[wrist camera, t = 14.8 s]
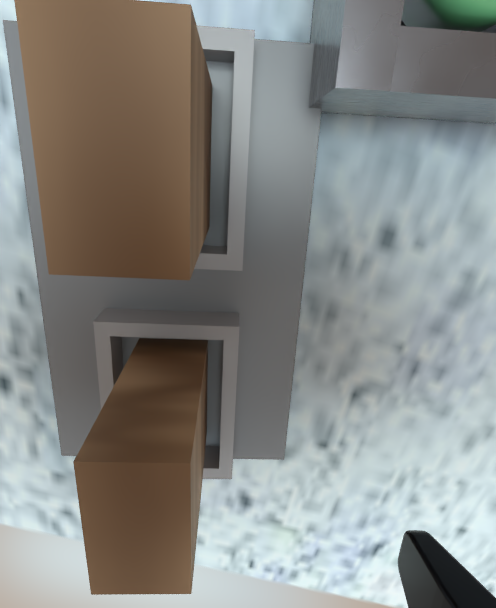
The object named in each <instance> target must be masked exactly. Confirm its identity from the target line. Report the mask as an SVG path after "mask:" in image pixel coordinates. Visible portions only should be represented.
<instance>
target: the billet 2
mask: <svg viewBox="0 0 496 608" xmlns="http://www.w3.org/2000/svg"><path fill="white" fill-rule="evenodd" d="M207 377H208V340H188V339H150V338H139V340H138V342H137V344H136V346H135V348H134V349H133V351H132V353H131V355H130V357H129V359H128V361H127V363H126V364H125V366H124V368H123V370H122V372H121V374H120V376H119V378H118V379H117V381H116V383H115V385H114V387H113V389H112V391H111V393H110V394H109V396H108V398H107V400H106V402H105V404H104V406H103V408H102V409H101V411H100V413H99V415H98V417H97V419H96V421H95V423H94V424H93V426H92V428H91V430H90V432H89V434H88V436H87V438H86V439H85V441H84V443H83V445H82V447H81V449H80V451H79V453H78V454H77V456H76V458H75V460H74V469H75V477H76V484H77V492H78V499H79V507H80V514H81V522H82V529H83V537H84V544H85V551H86V559H87V566H88V573H89V581H90V589H91V594H191V590H192V581H193V570H194V560H195V550H196V539H197V529H198V519H199V508H200V498H201V488H202V478H203V467H204V457H205V447H206V436H207Z"/></svg>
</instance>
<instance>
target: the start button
mask: <svg viewBox="0 0 496 608" xmlns="http://www.w3.org/2000/svg"><path fill="white" fill-rule="evenodd" d="M402 21H403V22H404V24H405V25H406V26H411V27H424V28H436V29H449V30H462V31H474V32H482V31H484V30H486V29H488V28H490V27H491V26H493V25H495V24H496V0H405V2H404V8H403V15H402Z"/></svg>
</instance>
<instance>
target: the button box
mask: <svg viewBox="0 0 496 608" xmlns="http://www.w3.org/2000/svg"><path fill="white" fill-rule="evenodd" d="M404 2H405V0H314V5H313V16H312V26H311V37H310V43H313V44H314V54H313V64H312V74H311V85H310V95H309V105H308V108H322V111H321V112H326V113H341V114H357V115H372V116H387V117H402V118H417V119H432V120H447V121H463V122H478V123H493V124H496V24H495V25H493V26H491V27H490V28H488V29H486V30H484V31H482V32H474V31H462V30H449V29H436V28H424V27H411V26H406V25H405V24H404V22H403V21H402V15H403V8H404Z"/></svg>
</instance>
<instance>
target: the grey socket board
mask: <svg viewBox="0 0 496 608" xmlns="http://www.w3.org/2000/svg"><path fill="white" fill-rule="evenodd" d="M3 25H4V33H5V40H6V48H7V55H8V62H9V70H10V77H11V85H12V92H13V99H14V107H15V114H16V122H17V129H18V136H19V144H20V151H21V159H22V166H23V173H24V181H25V188H26V196H27V203H28V210H29V218H30V225H31V233H32V240H33V247H34V255H35V262H36V270H37V277H38V284H39V292H40V299H41V307H42V314H43V321H44V329H45V336H46V344H47V351H48V358H49V366H50V373H51V381H52V388H53V395H54V403H55V410H56V418H57V425H58V432H59V440H60V447H61V455H62V456H77V454H78V453H79V451H80V449H81V447H82V445H83V443H84V441H85V439H86V438H87V436H88V434H89V432H90V430H91V428H92V426H93V424H94V423H95V421H96V419H97V417H98V415H99V413H100V411H101V409H102V408H103V406H104V404H105V402H106V400H107V398H108V396H109V394H110V393H111V391H112V389H113V387H114V385H115V383H116V381H117V379H118V378H119V376H120V374H121V372H122V370H123V368H124V366H125V364H126V363H127V361H128V359H129V357H130V355H131V353H132V351H133V349H134V348H135V346H136V344H137V342H138V340H139V338H150V339H188V340H208V377H207V436H206V447H205V457H204V467H203V478H202V479H232V463H233V459H283V460H284V455H285V446H286V436H287V427H288V418H289V409H290V399H291V390H292V381H293V371H294V362H295V353H296V344H297V334H298V325H299V316H300V306H301V297H302V288H303V279H304V269H305V260H306V251H307V241H308V232H309V223H310V214H311V204H312V195H313V186H314V176H315V167H316V158H317V149H318V139H319V130H320V121H321V111H322V108H308V105H309V95H310V85H311V74H312V64H313V54H314V44H313V43H300V42H287V41H273V40H260V39H254V36H255V30H247V29H234V28H221V27H208V26H197V30H198V33H199V37H200V41H201V45H202V48H203V52H204V56H205V60H206V63H207V67H208V71H209V74H210V78H211V82H212V131H211V179H210V227H209V230H208V232H207V235H206V238H205V240H204V243H203V246H202V249H201V251H200V254H199V257H198V260H197V262H196V265H195V268H194V270H193V273H192V276H191V279H190V280H168V279H144V278H120V277H96V276H73V275H49V273H48V265H47V257H46V249H45V241H44V232H43V224H42V216H41V208H40V200H39V192H38V184H37V176H36V168H35V160H34V152H33V144H32V136H31V128H30V120H29V112H28V104H27V96H26V88H25V80H24V72H23V64H22V56H21V48H20V40H19V32H18V24H17V21H8V20H3Z"/></svg>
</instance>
